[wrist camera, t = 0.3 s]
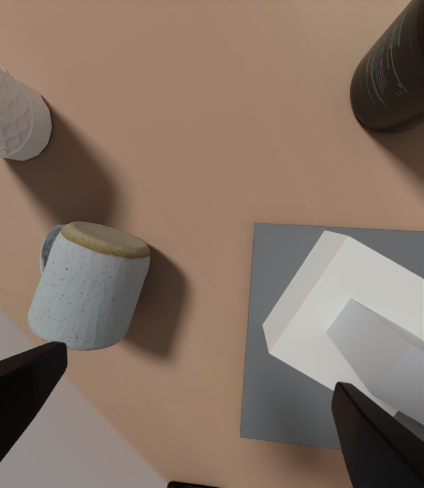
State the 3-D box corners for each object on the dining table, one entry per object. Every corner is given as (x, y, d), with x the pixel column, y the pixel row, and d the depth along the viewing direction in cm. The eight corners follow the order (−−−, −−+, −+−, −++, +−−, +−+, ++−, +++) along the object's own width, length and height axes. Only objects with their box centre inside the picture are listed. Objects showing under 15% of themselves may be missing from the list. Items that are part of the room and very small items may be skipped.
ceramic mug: (166, 243, 23) (131, 258, 16) (140, 320, 24) (96, 369, 17) (63, 204, 24) (-19, 200, 16) (43, 281, 25) (-41, 312, 17)
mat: (489, 462, 23) (495, 468, 23) (240, 431, 25) (240, 437, 24) (542, 237, 20) (551, 238, 20) (254, 223, 22) (255, 223, 21)
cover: (358, 380, 23) (462, 526, 12) (262, 325, 23) (285, 422, 12) (428, 289, 21) (618, 368, 11) (324, 230, 21) (411, 250, 11)
